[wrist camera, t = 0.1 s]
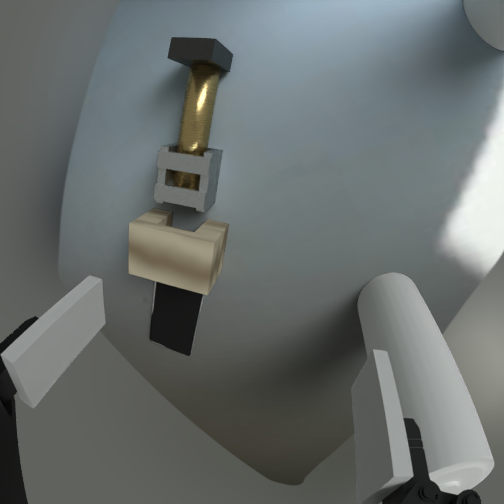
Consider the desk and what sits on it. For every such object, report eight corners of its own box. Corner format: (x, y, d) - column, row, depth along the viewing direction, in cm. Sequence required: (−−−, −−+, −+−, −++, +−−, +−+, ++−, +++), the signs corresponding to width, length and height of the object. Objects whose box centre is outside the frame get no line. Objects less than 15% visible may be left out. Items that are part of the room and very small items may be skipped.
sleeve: (176, 143, 38) (158, 146, 34) (222, 150, 38) (211, 154, 33) (170, 193, 41) (153, 203, 37) (214, 202, 41) (202, 213, 36)
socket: (153, 208, 43) (129, 223, 36) (228, 224, 42) (214, 243, 35) (151, 252, 45) (128, 273, 39) (221, 270, 45) (207, 295, 38)
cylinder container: (366, 335, 45) (392, 521, 18) (348, 287, 42) (377, 493, 15) (422, 314, 42) (488, 488, 15) (410, 263, 39) (503, 447, 12)
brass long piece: (196, 51, 33) (171, 37, 26) (232, 54, 33) (215, 38, 25) (175, 184, 40) (148, 198, 33) (209, 191, 40) (188, 206, 33)
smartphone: (148, 340, 52) (155, 269, 46) (151, 336, 53) (158, 265, 47) (190, 356, 52) (205, 286, 45) (193, 352, 53) (207, 282, 46)
